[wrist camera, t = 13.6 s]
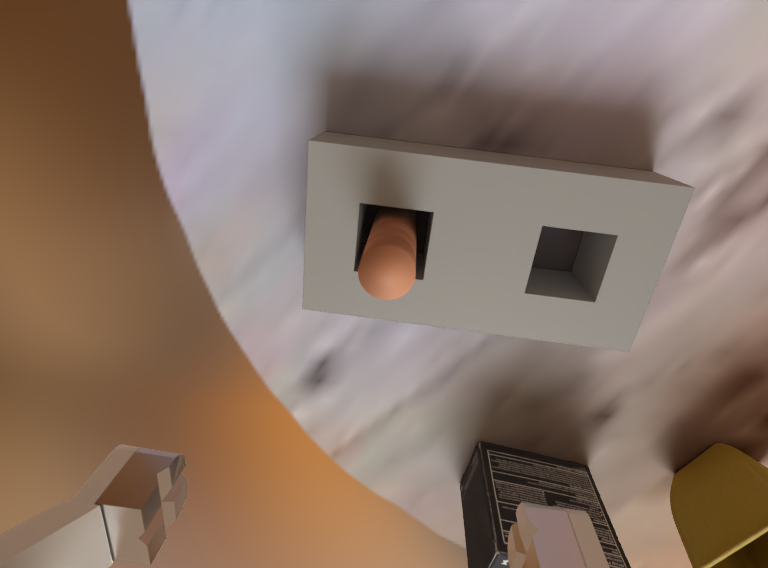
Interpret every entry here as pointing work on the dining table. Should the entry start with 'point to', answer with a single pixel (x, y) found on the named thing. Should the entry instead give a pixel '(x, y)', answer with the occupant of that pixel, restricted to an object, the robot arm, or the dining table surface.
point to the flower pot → (722, 509)
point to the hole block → (491, 238)
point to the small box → (525, 501)
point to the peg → (390, 254)
